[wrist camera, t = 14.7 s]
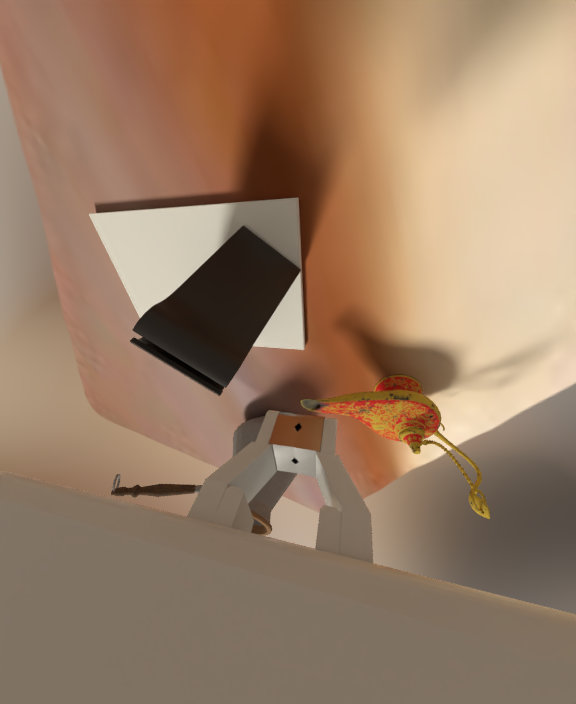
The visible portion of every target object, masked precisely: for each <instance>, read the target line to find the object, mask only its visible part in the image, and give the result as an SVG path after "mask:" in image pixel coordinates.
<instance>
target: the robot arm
mask: <svg viewBox="0 0 576 704" xmlns="http://www.w3.org/2000/svg"><path fill="white" fill-rule="evenodd" d="M336 433H337V419H334V418H326V417H320V416H311V415H299V414H293V413H286V412H280V411H273V410H268V412H267V413H266V415H265V418H264V421H263V423H262V426H261V428H260V431H259V434H258V436H257V439H256V442H253V441H252V442H251V443H250V444H248V445H247V446H246V447H245V448H243V449H242V450H241V451H240V452H239V453H237V454H236V455H235V456H234V457H232V458H231V459H230V460H229V461H227V462H226V463H225V464H224V465H223V466H221V467H220V468H219V469H218V470H216V471H215V472H214V473H213V474H212V475H210V476H209V477H208V478H207V479H205V482H204V483H203V485H202V487H201V489H200V491H199V493H198V496H197V498H196V499H195V501H194V504H193V505H192V507H191V510H190V511H189V514H188V516H187V517H186V516H182V515H178V514H174V513H170V512H166V511H162V510H158V509H154V508H150V507H146V506H142V505H138V504H134V503H130V502H126V501H122V500H118V499H115V498H111V497H107V496H103V495H99V494H95V493H91V492H87V491H83V490H79V489H75V488H71V487H67V486H63V485H58V484H55V483H51V482H46V481H42V480H39V479H34V478H30V477H27V476H23V475H19V474H15V473H11V472H0V704H576V614H572V613H568V612H564V611H560V610H556V609H552V608H548V607H544V606H540V605H536V604H532V603H528V602H524V601H520V600H516V599H513V598H508V597H504V596H500V595H497V594H493V593H488V592H485V591H480V590H477V589H473V588H468V587H465V586H461V585H457V584H453V583H449V582H445V581H440V580H437V579H433V578H429V577H425V576H421V575H417V574H412V573H409V572H405V571H401V570H397V569H393V568H389V567H385V566H381V565H377V564H373V549H372V527H371V513H370V512H369V510H368V508H367V506H366V504H365V502H364V501H363V499H362V497H361V495H360V493H359V492H358V490H357V488H356V486H355V484H354V483H353V481H352V479H351V477H350V475H349V474H348V472H347V470H346V468H345V466H344V465H343V463H342V461H341V459H340V457H339V455H335V448H336ZM277 470H279V471H285V472H292V473H298V474H302V475H307V476H312V477H316V479H317V481H318V484H319V487H320V489H321V492H322V494H323V497H324V499H325V502H326V505H327V506H325V505H324V506H323V507H322V508H321V509H320V515H319V524H318V532H317V540H316V548H315V549H314V548H309V547H306V546H302V545H298V544H294V543H289V542H286V541H282V540H277V539H274V538H270V537H266V536H262V535H258V534H254V533H251V530H252V527H253V523H254V519H253V516H252V514H251V511H250V508H249V505H248V503H249V502H250V501H251V500H252V499H253V498H254V496H255V495H256V494H257V493H258V492H259V491H260V490H261V489H262V487H263V486H264V485H265V484H266V483H267V482H268V481H269V480H270V478H271V477H272V476H273V475H274V474H275V473H276V472H277Z"/></svg>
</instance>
